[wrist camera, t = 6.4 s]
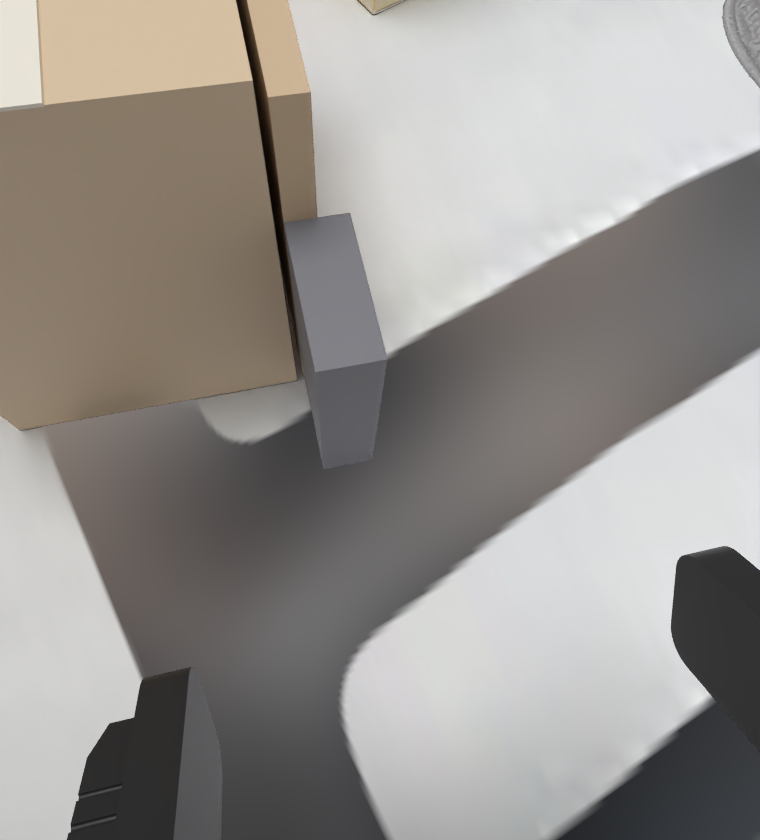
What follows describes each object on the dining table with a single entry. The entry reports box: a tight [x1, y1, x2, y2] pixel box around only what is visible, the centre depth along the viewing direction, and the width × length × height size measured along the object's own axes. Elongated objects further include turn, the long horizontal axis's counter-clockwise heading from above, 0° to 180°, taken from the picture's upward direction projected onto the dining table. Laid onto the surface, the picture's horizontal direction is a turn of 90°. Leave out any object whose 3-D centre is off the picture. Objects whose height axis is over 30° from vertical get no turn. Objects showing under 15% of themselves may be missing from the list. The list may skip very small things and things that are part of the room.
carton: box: [0, 0, 297, 430], centre depth 24 cm, size 16×12×16 cm
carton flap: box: [236, 0, 387, 470], centre depth 24 cm, size 21×2×15 cm, turn 13°
